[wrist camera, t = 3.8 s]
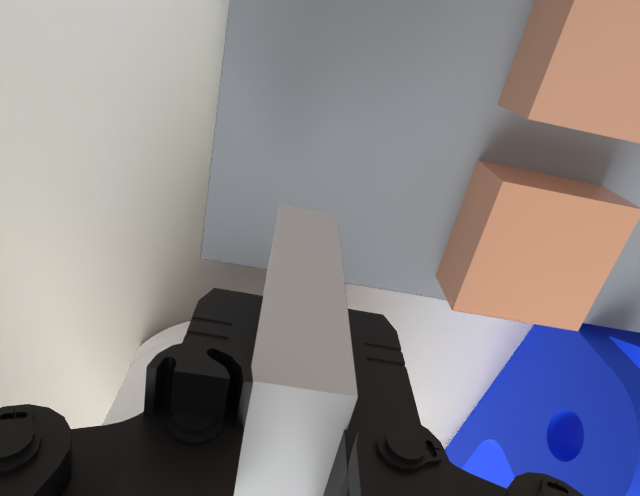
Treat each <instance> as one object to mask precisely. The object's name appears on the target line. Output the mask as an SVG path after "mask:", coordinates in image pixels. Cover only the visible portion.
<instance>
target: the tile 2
mask: <svg viewBox="0 0 640 496" xmlns="http://www.w3.org/2000/svg"><path fill="white" fill-rule="evenodd" d="M498 105H499V106H501V107H503V108H505V109H508V110H510V111H512V112H514V113H516V114H518V115H520V116H522V117H525V118H527V119H530V120H535V121H539V122H544V123H548V124H553V125H557V126H562V127H566V128H571V129H576V130H580V131H585V132H589V133H594V134H598V135H603V136H607V137H612V138H616V139H621V140H626V141H630V142H635V143H639V144H640V0H535V3H534V5H533V8H532V11H531V14H530V17H529V19H528V22H527V25H526V28H525V30H524V33H523V36H522V39H521V41H520V44H519V47H518V50H517V52H516V55H515V58H514V61H513V64H512V66H511V69H510V72H509V75H508V77H507V80H506V83H505V86H504V88H503V91H502V94H501V97H500V99H499V102H498Z"/></svg>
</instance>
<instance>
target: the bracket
mask: <svg viewBox="0 0 640 496" xmlns="http://www.w3.org/2000/svg"><path fill="white" fill-rule="evenodd" d="M445 452H446V454H447V456H448V458H449V461H450V462H451V463H452V464H454V465H455V466H457V467H459V468H461V469H463V470H465V471H467V472H469V473H471V474H473V475H475V476H478V477H480V478H483V479H485V480H487V481H490V482H492V483H494V484H497V485H499V486H501V487H504V488H506V487H507V486H508V485H509V484H511V483H512V482H511V481H512V480H513V479H514V478H515V477H516V476H518V475H521V474H524V473H527V472H534V473H543V474H547V475H549V476H552V477H554V478H557V479H559V480H561V481H564V482H565V483H567V484H568V485H570V486H571V487H572V488H574V489H575V490H577V491H578V492H580V493H581V494H583V496H640V333H639V332H633V331H627V330H621V329H615V328H609V327H604V326H598V325H592V324H586V323H582V325H581V327H580V329H579V331H573V330H567V329H561V328H555V327H549V326H543V325H537V324H534V326H533V327H532V329H531V330H530V331H529V333H528V334H527V336H526V337H525V338H524V340H523V341H522V343H521V344H520V345H519V347H518V348H517V350H516V351H515V353H514V354H513V355H512V357H511V358H510V360H509V361H508V362H507V364H506V365H505V367H504V368H503V369H502V371H501V372H500V374H499V375H498V376H497V378H496V379H495V381H494V382H493V383H492V385H491V386H490V388H489V389H488V390H487V392H486V393H485V395H484V396H483V397H482V399H481V400H480V402H479V403H478V404H477V406H476V407H475V409H474V410H473V411H472V413H471V414H470V416H469V417H468V418H467V420H466V421H465V423H464V424H463V425H462V427H461V428H460V430H459V431H458V432H457V434H456V435H455V437H454V438H453V439H452V441H451V442H450V444H449V445H448V446H447V448H446V449H445ZM509 486H510V485H509ZM509 486H508V487H509ZM508 487H507V488H506V489H508Z"/></svg>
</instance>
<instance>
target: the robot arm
mask: <svg viewBox="0 0 640 496" xmlns="http://www.w3.org/2000/svg"><path fill="white" fill-rule="evenodd" d="M0 496H583V494H581V493H580V492H578V491H577V490H575V489H574V488H572V487H571V486H570V485H568V484H567V483H565V482H564V481H561V480H559V479H557V478H554V477H552V476H549V475H547V474H543V473H534V472H527V473H524V474H521V475H518V476H516V477H515V478H514V480H513V481H512V483H511V484H510V486H509V487H508V489H506V488H504V487H501V486H499V485H497V484H494V483H492V482H490V481H487V480H485V479H483V478H480V477H478V476H475V475H473V474H471V473H469V472H467V471H465V470H463V469H461V468H459V467H457V466H455V465H454V464H452V463H451V462H450V461H449V458H448V456H447V454H446V452H445V450H444V448H443V446H442V444H441V442H440V441H439V440H438V439H437V438H436V437H435V436H434V435H433V434H432V433H431V432H430V431H429V430H428V429H427V428H425V427H423V426H422V425H421V423H420V419H419V415H418V411H417V407H416V403H415V400H414V396H413V392H412V388H411V384H410V381H409V377H408V373H407V369H406V367H405V361H404V358H403V354H402V352H401V346H400V342H399V339H398V335H397V331H396V330H395V329H394V328H393V326H392V325H391V324H390V323H389V321H388V320H387V319H386V318H385V316H384V315H381V314H375V313H369V312H363V311H358V310H352V309H348V308H347V300H346V291H345V283H344V274H343V266H342V257H341V248H340V240H339V231H338V223H337V214H333V213H328V212H323V211H317V210H312V209H307V208H302V207H296V206H291V205H286V204H281V203H280V204H279V210H278V215H277V221H276V226H275V232H274V237H273V242H272V248H271V253H270V259H269V264H268V270H267V275H266V280H265V286H264V291H263V296H259V295H253V294H247V293H241V292H235V291H230V290H224V289H218V288H214V289H213V290H211V291H210V292H209V293H208V294H206V295H205V296H204V297H202V298H201V299H200V300H199V301H198V304H197V306H196V309H195V311H194V314H193V317H192V320H191V322H190V324H189V327H188V329H187V333H186V334H185V337H184V339H183V342H182V343H180V344H176V345H172V346H170V347H168V348H167V349H165V350H163V351H161V352H159V353H158V354H156V356H155V357H154V358H153V359H152V360H151V362H150V363H149V364H148V365H147V368H146V383H145V399H144V411H143V412H142V413H140V414H139V415H137V416H135V417H132V418H130V419H127V420H125V421H122V422H118V423H113V424H108V425H102V426H94V427H86V428H78V429H70V427H69V425H68V423H67V421H66V420H65V418H64V417H63V416H62V415H60V414H58V413H57V412H55V411H53V410H52V409H50V408H47V407H42V406H36V405H30V404H25V405H16V406H6V407H2V408H0Z"/></svg>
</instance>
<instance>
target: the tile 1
mask: <svg viewBox="0 0 640 496" xmlns="http://www.w3.org/2000/svg"><path fill="white" fill-rule="evenodd" d="M639 218H640V207H638V206H636V205H635V204H633V203H631V202H630V201H628V200H626V199H624V198H623V197H621V196H619V195H617V194H616V193H614V192H612V191H610V190H609V189H607V188H605V187H604V186H602V185H597V184H592V183H587V182H583V181H578V180H573V179H568V178H563V177H558V176H554V175H549V174H544V173H539V172H534V171H529V170H524V169H520V168H515V167H510V166H505V165H500V164H495V163H491V162H486V161H481V160H477V163H476V166H475V169H474V171H473V174H472V177H471V180H470V182H469V185H468V188H467V191H466V193H465V196H464V199H463V202H462V205H461V207H460V210H459V213H458V216H457V218H456V221H455V224H454V227H453V229H452V232H451V235H450V238H449V241H448V243H447V246H446V249H445V252H444V254H443V257H442V260H441V263H440V265H439V268H438V271H437V274H436V276H435V277H436V279H437V281H438V283H439V285H440V287H441V289H442V291H443V293H444V295H445V297H446V299H447V301H448V303H449V305H450V307H451V309H452V310H453V311H459V312H465V313H471V314H477V315H483V316H489V317H495V318H501V319H507V320H513V321H519V322H525V323H531V324H537V325H543V326H549V327H555V328H561V329H567V330H573V331H579V329H580V327H581V325H582V323H583V321H584V319H585V318H586V316H587V314H588V312H589V310H590V308H591V307H592V305H593V303H594V301H595V299H596V297H597V295H598V294H599V292H600V290H601V288H602V286H603V284H604V283H605V281H606V279H607V277H608V275H609V273H610V271H611V270H612V268H613V266H614V264H615V262H616V260H617V259H618V257H619V255H620V253H621V251H622V249H623V247H624V246H625V244H626V242H627V240H628V238H629V236H630V235H631V233H632V231H633V229H634V227H635V225H636V224H637V222H638V220H639Z"/></svg>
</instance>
